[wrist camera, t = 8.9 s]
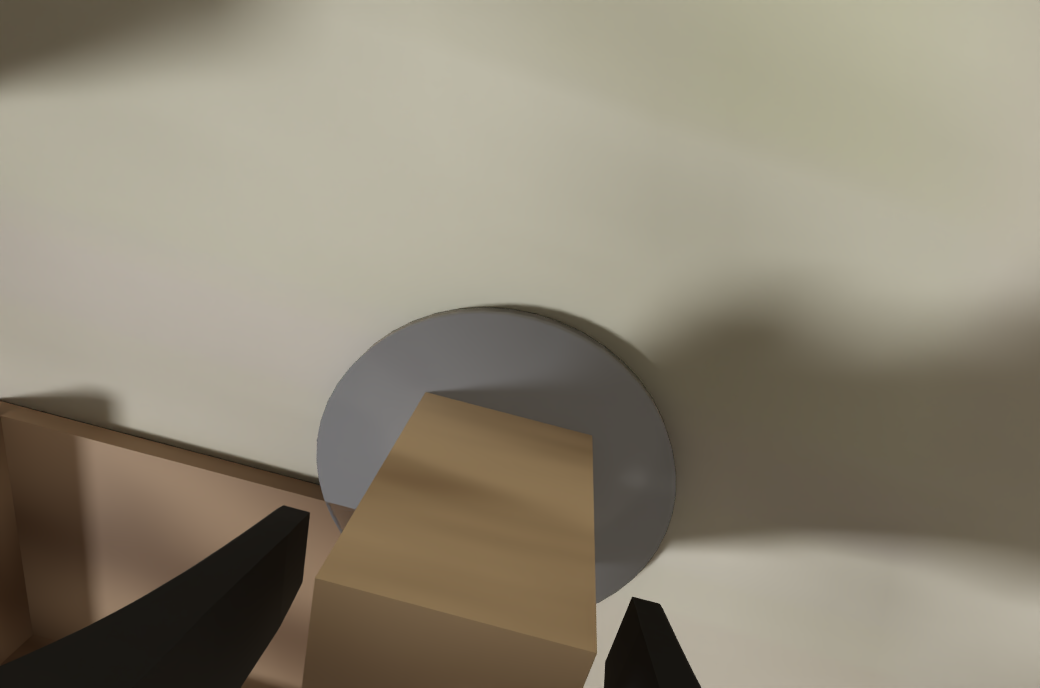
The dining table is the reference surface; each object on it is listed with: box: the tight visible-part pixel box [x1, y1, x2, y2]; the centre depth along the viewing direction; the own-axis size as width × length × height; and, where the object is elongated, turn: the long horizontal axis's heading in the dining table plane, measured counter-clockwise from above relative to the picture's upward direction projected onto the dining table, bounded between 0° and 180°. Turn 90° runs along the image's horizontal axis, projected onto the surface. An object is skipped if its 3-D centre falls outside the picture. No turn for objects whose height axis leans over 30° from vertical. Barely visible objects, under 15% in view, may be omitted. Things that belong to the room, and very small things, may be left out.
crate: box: [0, 401, 354, 688], centre depth 17 cm, size 10×13×4 cm
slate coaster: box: [317, 307, 676, 603], centre depth 16 cm, size 10×10×1 cm
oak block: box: [302, 392, 597, 688], centre depth 13 cm, size 4×4×6 cm
